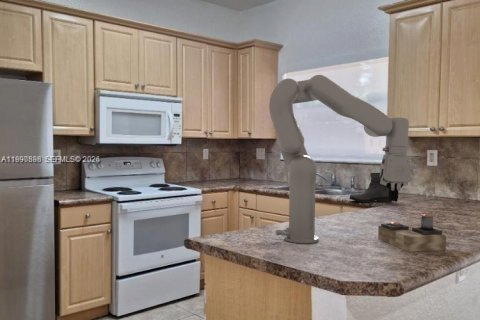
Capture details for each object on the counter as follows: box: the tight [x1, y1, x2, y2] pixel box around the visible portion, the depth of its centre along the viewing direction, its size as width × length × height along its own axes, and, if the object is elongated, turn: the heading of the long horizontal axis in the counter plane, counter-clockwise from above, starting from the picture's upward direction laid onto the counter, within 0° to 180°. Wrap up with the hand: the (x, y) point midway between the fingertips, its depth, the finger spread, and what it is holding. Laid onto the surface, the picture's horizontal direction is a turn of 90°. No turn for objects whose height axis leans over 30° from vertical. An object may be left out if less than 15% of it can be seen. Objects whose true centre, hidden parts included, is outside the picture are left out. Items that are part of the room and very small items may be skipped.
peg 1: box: [388, 221, 401, 227], centre depth 158 cm, size 4×4×7 cm
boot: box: [348, 172, 393, 203], centre depth 274 cm, size 10×29×19 cm, turn 102°
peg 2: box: [420, 213, 434, 231], centre depth 151 cm, size 4×4×7 cm
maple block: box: [377, 222, 447, 253], centre depth 155 cm, size 14×20×6 cm
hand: (393, 200), depth 158 cm, fingers closed
